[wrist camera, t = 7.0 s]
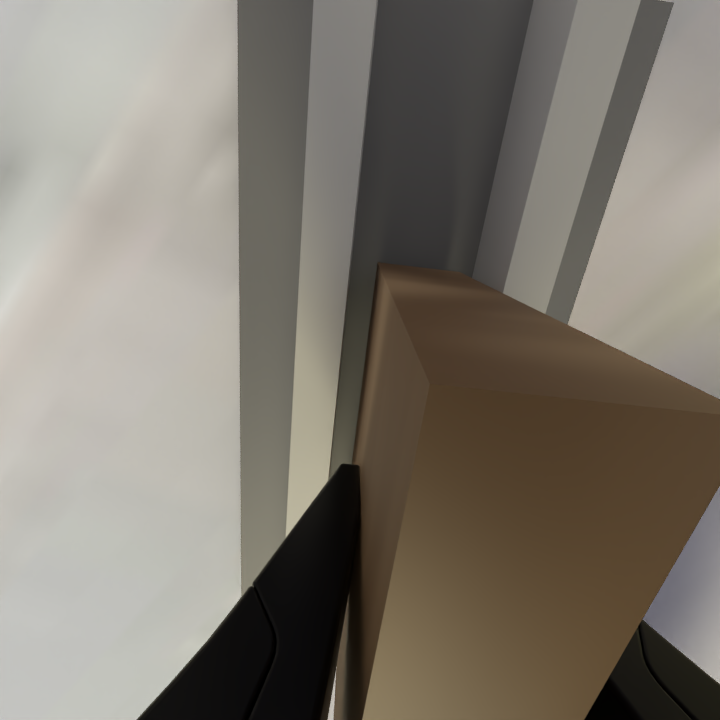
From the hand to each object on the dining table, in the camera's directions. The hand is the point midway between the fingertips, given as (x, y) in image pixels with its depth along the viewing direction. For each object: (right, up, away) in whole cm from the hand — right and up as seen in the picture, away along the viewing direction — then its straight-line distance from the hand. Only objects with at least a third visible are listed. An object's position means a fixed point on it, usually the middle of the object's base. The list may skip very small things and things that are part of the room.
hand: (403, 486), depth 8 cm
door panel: (0, +1, +2) cm, 3 cm away
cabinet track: (0, +2, +4) cm, 5 cm away
